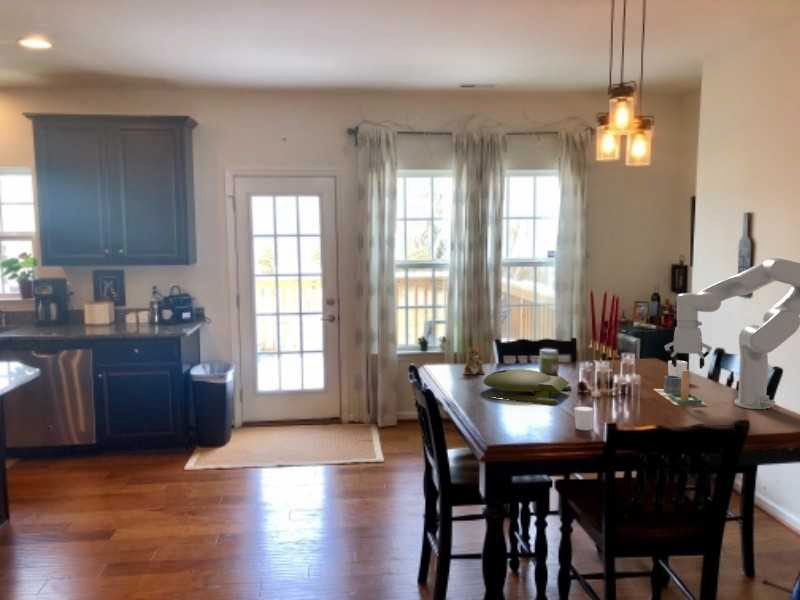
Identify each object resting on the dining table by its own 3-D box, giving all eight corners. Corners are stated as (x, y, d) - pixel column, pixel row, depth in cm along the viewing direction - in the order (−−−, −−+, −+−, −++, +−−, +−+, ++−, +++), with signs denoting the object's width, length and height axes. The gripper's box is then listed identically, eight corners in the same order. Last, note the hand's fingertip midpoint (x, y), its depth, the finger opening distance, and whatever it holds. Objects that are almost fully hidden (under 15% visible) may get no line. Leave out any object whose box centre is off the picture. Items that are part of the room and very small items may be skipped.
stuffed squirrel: (465, 376, 310) (464, 349, 308) (462, 370, 324) (462, 344, 322) (485, 375, 309) (485, 349, 308) (482, 369, 323) (482, 344, 322)
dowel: (690, 400, 254) (691, 370, 252) (685, 401, 252) (686, 371, 251) (684, 398, 256) (685, 369, 255) (679, 399, 255) (680, 370, 254)
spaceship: (572, 390, 280) (573, 368, 280) (556, 406, 253) (556, 382, 252) (496, 382, 296) (496, 362, 295) (473, 397, 269) (473, 375, 268)
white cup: (683, 381, 291) (683, 360, 290) (689, 385, 283) (689, 363, 282) (665, 381, 292) (665, 360, 291) (670, 385, 284) (671, 363, 283)
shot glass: (575, 430, 221) (575, 410, 220) (572, 424, 228) (573, 405, 227) (595, 431, 220) (595, 411, 219) (592, 425, 227) (592, 406, 226)
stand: (706, 407, 248) (707, 388, 247) (675, 407, 248) (675, 388, 248) (681, 391, 273) (681, 374, 273) (652, 391, 274) (653, 374, 273)
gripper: (712, 323, 250) (713, 366, 251) (666, 322, 259) (666, 364, 261) (710, 326, 243) (710, 370, 245) (662, 325, 253) (662, 367, 254)
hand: (687, 367), depth 253 cm, fingers open, 9 cm apart
